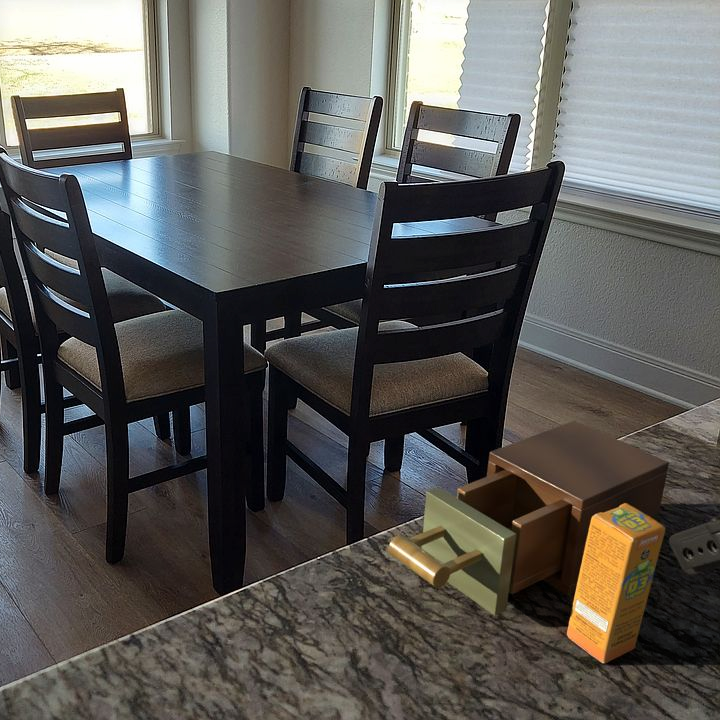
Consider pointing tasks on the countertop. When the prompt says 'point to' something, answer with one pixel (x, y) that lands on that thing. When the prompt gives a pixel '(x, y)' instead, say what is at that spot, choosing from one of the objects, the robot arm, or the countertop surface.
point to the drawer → (488, 538)
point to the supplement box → (614, 581)
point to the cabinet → (584, 481)
